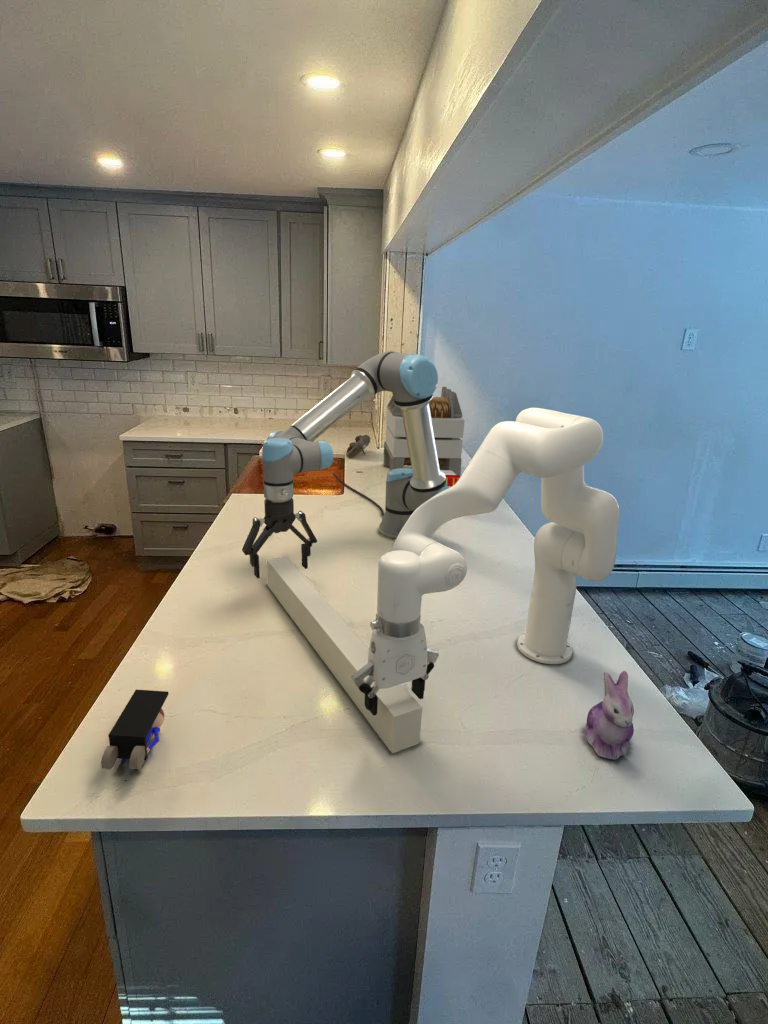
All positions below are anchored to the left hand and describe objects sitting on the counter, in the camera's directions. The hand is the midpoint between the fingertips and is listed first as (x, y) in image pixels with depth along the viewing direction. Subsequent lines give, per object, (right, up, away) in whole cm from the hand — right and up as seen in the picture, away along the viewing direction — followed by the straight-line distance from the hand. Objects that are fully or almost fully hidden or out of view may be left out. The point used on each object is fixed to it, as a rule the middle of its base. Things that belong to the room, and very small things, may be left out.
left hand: (281, 571), depth 155 cm
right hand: (+30, -19, -52) cm, 63 cm away
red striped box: (+53, +22, +85) cm, 103 cm away
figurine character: (-15, -26, -56) cm, 63 cm away
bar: (+15, -15, -24) cm, 32 cm away
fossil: (+14, +47, +150) cm, 158 cm away
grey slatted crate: (+45, +35, +120) cm, 133 cm away
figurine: (+70, -27, -49) cm, 90 cm away
